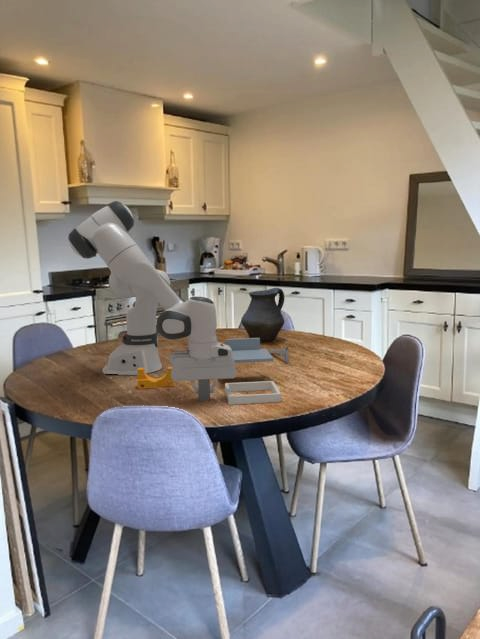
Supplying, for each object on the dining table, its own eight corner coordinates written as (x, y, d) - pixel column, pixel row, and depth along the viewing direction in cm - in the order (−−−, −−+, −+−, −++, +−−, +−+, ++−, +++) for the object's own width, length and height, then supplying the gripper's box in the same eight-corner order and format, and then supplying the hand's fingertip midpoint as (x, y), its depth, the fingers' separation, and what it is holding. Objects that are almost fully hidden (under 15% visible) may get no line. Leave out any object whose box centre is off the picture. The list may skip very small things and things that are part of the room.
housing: (228, 406, 155) (228, 396, 154) (225, 392, 168) (224, 383, 168) (281, 403, 156) (281, 393, 156) (273, 389, 170) (273, 380, 170)
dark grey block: (199, 402, 159) (198, 380, 158) (198, 398, 162) (198, 377, 161) (210, 401, 159) (209, 379, 158) (209, 397, 163) (209, 376, 162)
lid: (222, 363, 169) (222, 348, 169) (219, 353, 184) (218, 339, 183) (273, 361, 171) (273, 346, 170) (266, 351, 186) (266, 337, 185)
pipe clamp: (137, 389, 173) (136, 371, 172) (139, 386, 177) (138, 367, 176) (173, 388, 174) (173, 369, 173) (174, 384, 178) (173, 366, 177)
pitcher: (234, 339, 251) (233, 288, 247) (272, 334, 262) (271, 285, 257) (255, 346, 234) (254, 292, 229) (295, 341, 244) (295, 289, 239)
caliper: (289, 363, 202) (289, 347, 201) (286, 363, 202) (286, 348, 201) (271, 351, 221) (271, 337, 220) (268, 351, 221) (268, 337, 220)
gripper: (168, 353, 154) (170, 397, 156) (236, 350, 156) (237, 394, 158) (169, 348, 160) (170, 391, 163) (234, 346, 162) (235, 388, 165)
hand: (204, 392), depth 161 cm, fingers closed on dark grey block, 3 cm apart
